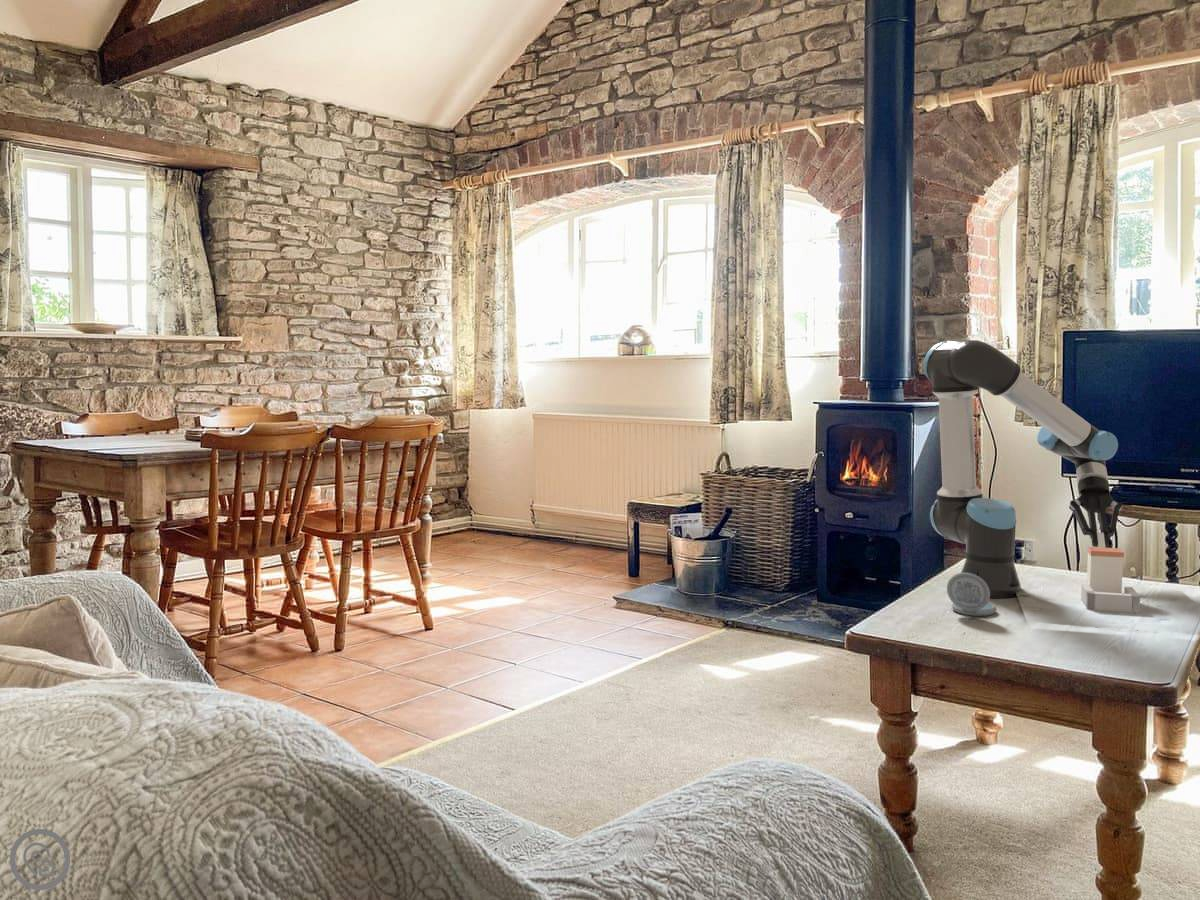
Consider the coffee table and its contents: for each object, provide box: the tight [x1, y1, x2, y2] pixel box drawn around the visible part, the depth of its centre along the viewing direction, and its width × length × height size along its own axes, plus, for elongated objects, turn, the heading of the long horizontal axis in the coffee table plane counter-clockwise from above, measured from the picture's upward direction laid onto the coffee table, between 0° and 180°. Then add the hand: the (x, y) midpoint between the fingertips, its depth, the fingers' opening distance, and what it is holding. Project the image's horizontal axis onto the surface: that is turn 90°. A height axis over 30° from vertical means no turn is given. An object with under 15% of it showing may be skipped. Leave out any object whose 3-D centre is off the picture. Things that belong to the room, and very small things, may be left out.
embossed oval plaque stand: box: [946, 572, 997, 617], centre depth 236 cm, size 10×11×15 cm
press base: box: [1080, 583, 1141, 613], centre depth 239 cm, size 20×14×5 cm
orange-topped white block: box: [1086, 546, 1125, 593], centre depth 243 cm, size 5×7×12 cm
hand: (1102, 556), depth 254 cm, fingers closed
